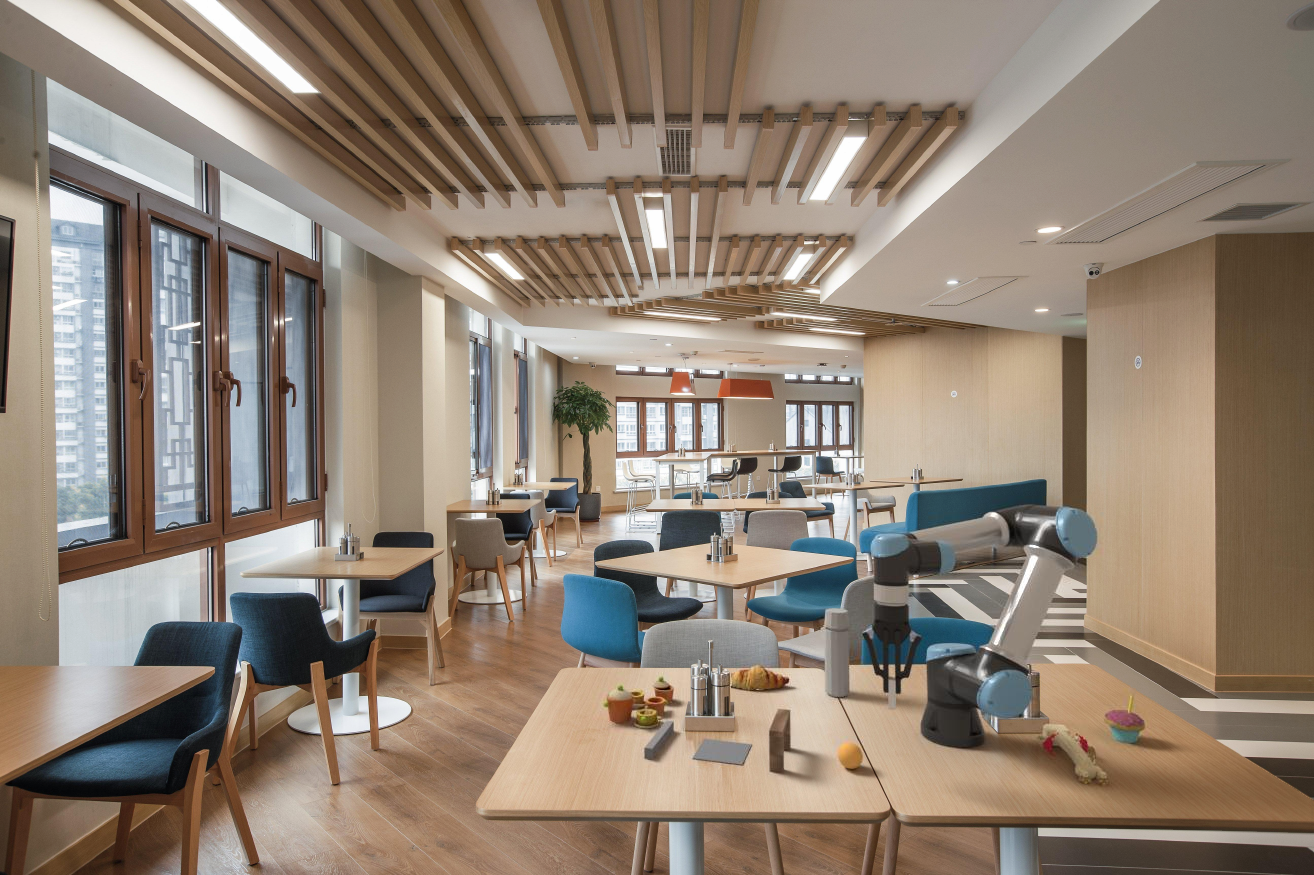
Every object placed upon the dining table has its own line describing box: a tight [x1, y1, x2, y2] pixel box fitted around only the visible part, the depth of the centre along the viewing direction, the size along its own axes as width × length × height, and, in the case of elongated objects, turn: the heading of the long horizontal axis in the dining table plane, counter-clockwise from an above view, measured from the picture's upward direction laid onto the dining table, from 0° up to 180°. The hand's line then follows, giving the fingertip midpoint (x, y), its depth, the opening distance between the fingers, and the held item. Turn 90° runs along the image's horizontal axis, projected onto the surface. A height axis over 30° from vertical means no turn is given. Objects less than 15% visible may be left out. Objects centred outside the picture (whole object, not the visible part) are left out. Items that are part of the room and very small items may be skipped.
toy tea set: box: [603, 676, 675, 730], centre depth 199 cm, size 26×16×10 cm, turn 163°
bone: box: [1036, 723, 1110, 786], centre depth 165 cm, size 10×9×25 cm
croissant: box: [731, 664, 790, 691], centre depth 220 cm, size 21×10×8 cm, turn 84°
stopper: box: [643, 720, 675, 760], centre depth 176 cm, size 2×18×2 cm, turn 162°
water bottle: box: [822, 607, 851, 698], centre depth 213 cm, size 9×8×25 cm
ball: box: [837, 742, 864, 770], centre depth 162 cm, size 6×6×6 cm
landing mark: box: [691, 738, 752, 766], centre depth 171 cm, size 12×12×1 cm
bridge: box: [768, 708, 792, 774], centre depth 167 cm, size 3×14×9 cm, turn 162°
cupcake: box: [1103, 692, 1146, 744], centre depth 177 cm, size 9×8×12 cm
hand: (892, 707), depth 159 cm, fingers closed
